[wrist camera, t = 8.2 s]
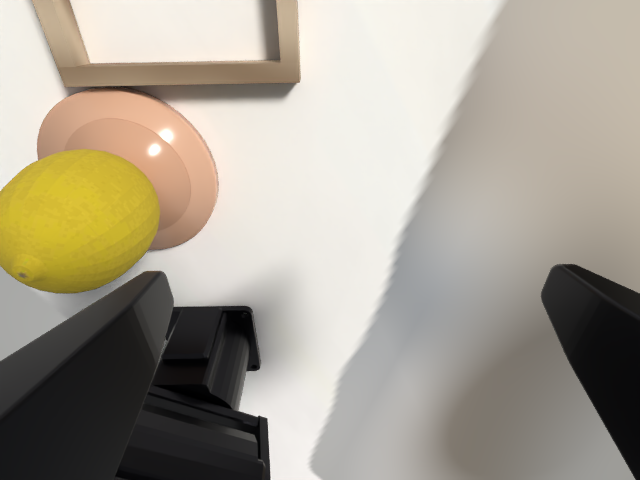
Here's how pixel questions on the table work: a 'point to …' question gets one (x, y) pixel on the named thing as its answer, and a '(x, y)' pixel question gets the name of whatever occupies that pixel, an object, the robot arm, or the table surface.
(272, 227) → the table surface
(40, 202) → the lemon
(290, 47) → the wooden picture frame
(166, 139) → the saucer
